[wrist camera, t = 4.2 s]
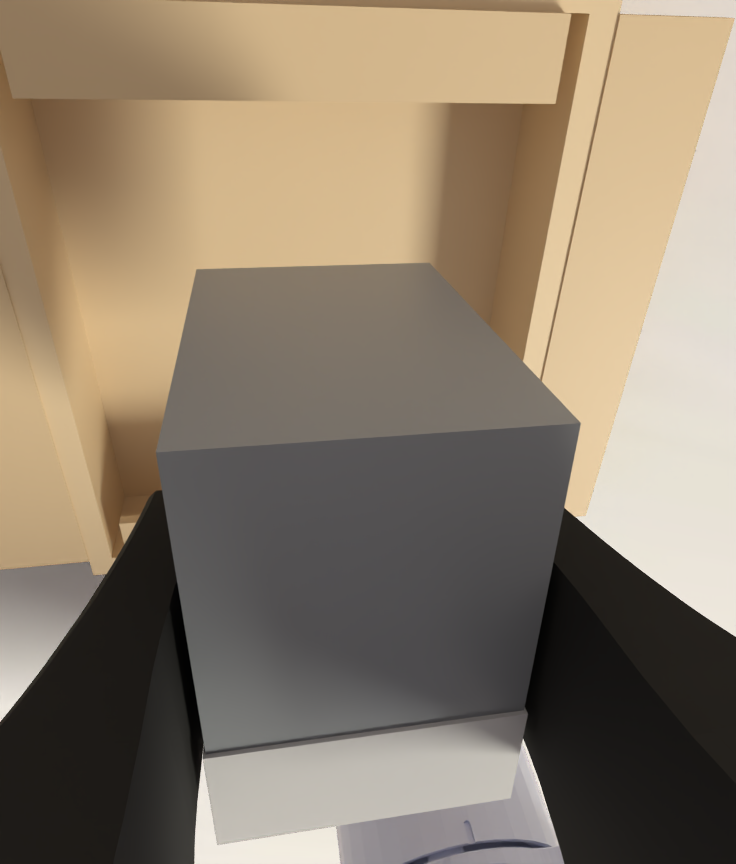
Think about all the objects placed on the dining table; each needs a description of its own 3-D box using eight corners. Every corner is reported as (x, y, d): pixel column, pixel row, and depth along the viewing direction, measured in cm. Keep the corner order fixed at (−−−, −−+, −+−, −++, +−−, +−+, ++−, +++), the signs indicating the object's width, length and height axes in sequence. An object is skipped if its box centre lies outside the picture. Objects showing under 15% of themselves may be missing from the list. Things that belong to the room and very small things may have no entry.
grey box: (414, 533, 14) (510, 798, 9) (226, 551, 14) (217, 845, 9) (430, 262, 12) (586, 426, 6) (194, 269, 11) (151, 456, 6)
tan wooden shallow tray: (544, 469, 23) (584, 535, 20) (29, 511, 20) (-2, 592, 18) (661, -21, 15) (754, -19, 12) (-170, -57, 12) (-282, -63, 10)
